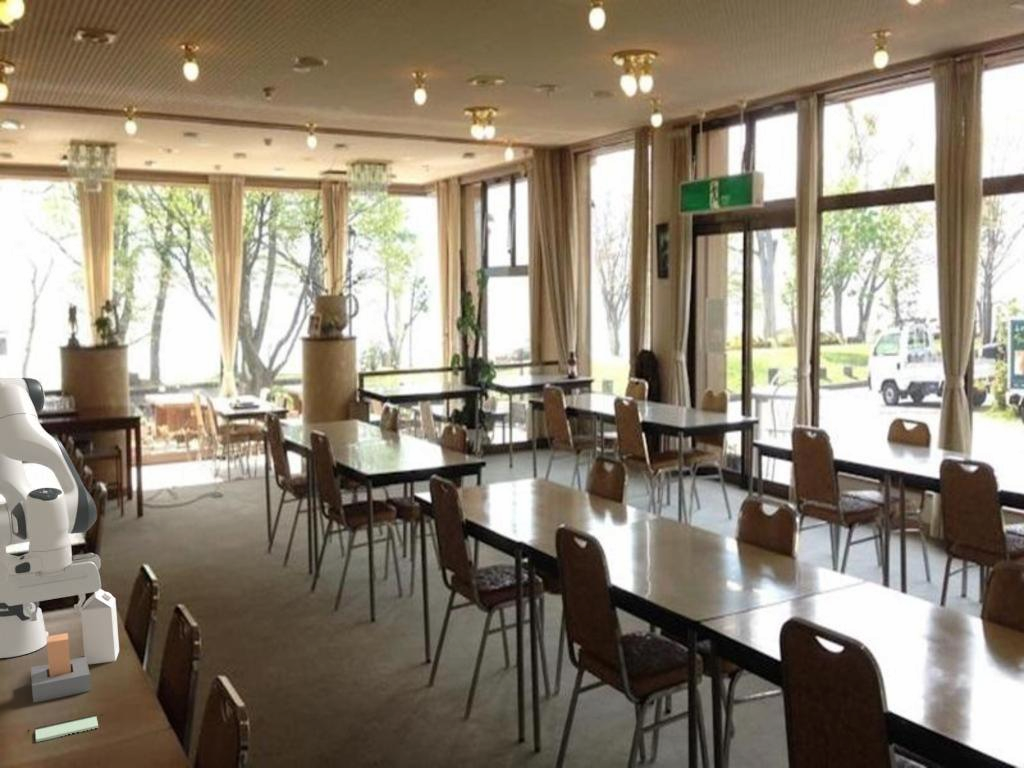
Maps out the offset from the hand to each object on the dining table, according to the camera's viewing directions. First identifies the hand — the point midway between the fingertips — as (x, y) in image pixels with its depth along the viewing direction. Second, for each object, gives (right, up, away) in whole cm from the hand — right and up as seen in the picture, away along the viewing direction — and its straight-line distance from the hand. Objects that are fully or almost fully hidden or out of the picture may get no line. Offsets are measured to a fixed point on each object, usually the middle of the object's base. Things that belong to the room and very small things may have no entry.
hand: (55, 616), depth 216 cm
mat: (+8, -20, -13) cm, 25 cm away
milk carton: (+2, -16, +19) cm, 25 cm away
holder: (0, -18, +2) cm, 18 cm away
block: (0, -17, +2) cm, 17 cm away
